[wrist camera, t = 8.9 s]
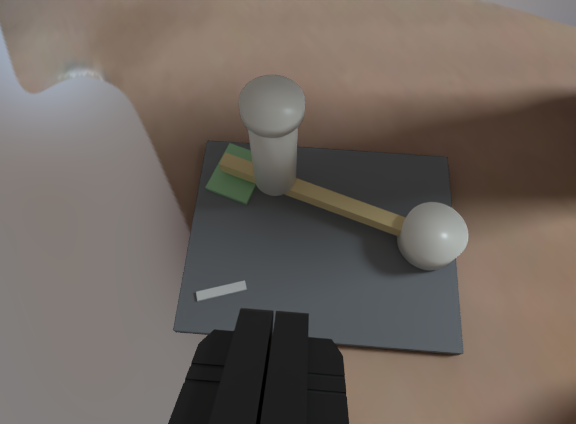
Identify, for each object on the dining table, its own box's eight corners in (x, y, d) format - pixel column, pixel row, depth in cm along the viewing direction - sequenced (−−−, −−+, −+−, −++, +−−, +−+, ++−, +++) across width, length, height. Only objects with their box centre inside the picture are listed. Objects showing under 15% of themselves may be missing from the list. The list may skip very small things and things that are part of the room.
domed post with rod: (462, 226, 30) (535, 153, 21) (448, 279, 28) (520, 224, 20) (236, 145, 32) (218, 50, 24) (212, 190, 31) (183, 106, 22)
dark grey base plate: (208, 146, 34) (206, 138, 33) (444, 162, 33) (449, 154, 32) (175, 332, 28) (171, 329, 27) (458, 354, 28) (465, 352, 27)
